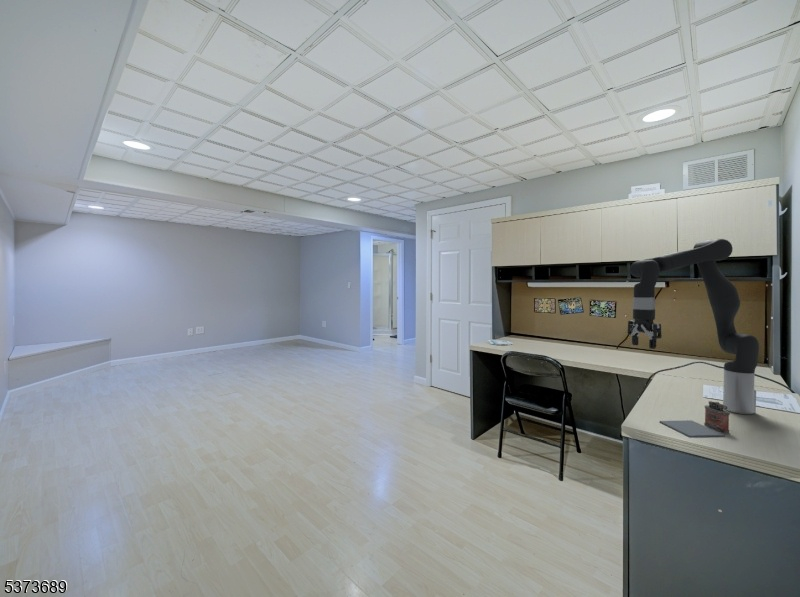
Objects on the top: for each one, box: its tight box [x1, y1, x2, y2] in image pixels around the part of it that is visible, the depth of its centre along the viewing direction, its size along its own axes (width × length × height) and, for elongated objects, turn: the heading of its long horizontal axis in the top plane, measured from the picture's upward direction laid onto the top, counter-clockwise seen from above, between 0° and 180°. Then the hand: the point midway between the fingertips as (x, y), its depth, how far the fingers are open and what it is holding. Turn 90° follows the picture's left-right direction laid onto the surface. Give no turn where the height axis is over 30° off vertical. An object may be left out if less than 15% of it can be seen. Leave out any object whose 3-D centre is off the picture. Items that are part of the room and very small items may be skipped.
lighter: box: [703, 400, 731, 434], centre depth 124 cm, size 8×3×10 cm, turn 5°
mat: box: [659, 419, 726, 438], centre depth 124 cm, size 13×13×1 cm
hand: (643, 346), depth 139 cm, fingers open, 8 cm apart
